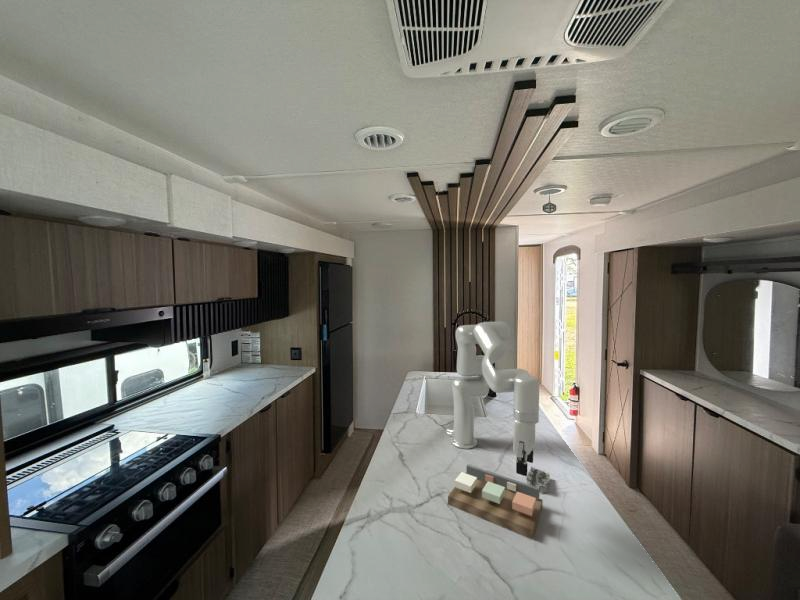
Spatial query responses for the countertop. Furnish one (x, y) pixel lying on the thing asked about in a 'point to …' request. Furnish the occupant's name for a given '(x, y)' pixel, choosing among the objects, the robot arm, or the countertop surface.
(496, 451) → the countertop surface
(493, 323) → the robot arm
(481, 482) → the keypad
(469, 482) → the key cream
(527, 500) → the key terracotta
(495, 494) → the key sage
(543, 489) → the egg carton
